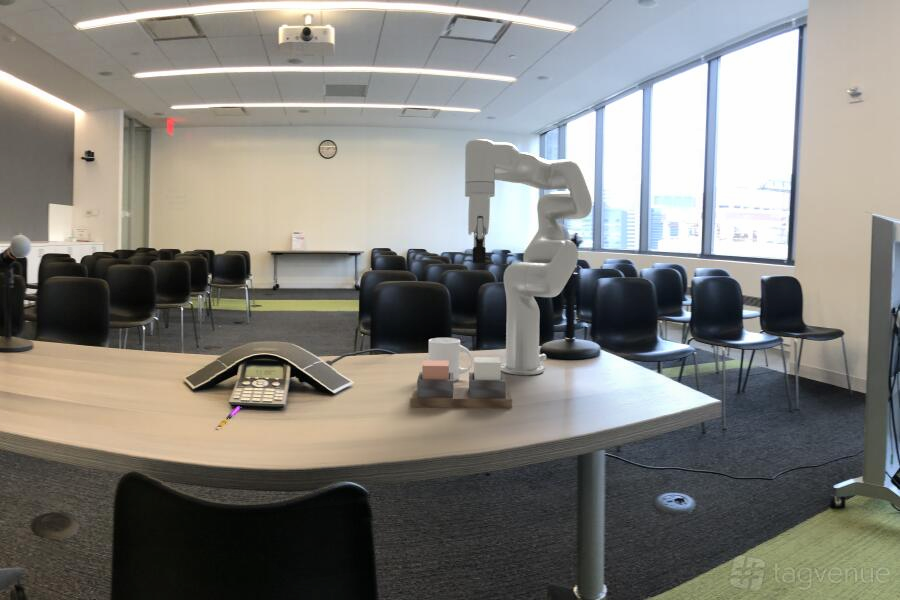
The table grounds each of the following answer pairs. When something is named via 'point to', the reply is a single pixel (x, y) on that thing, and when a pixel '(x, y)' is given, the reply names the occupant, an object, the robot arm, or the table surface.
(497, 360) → the cream key
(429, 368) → the terracotta key
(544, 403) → the table surface
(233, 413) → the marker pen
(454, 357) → the mug
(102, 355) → the table surface
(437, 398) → the key panel
